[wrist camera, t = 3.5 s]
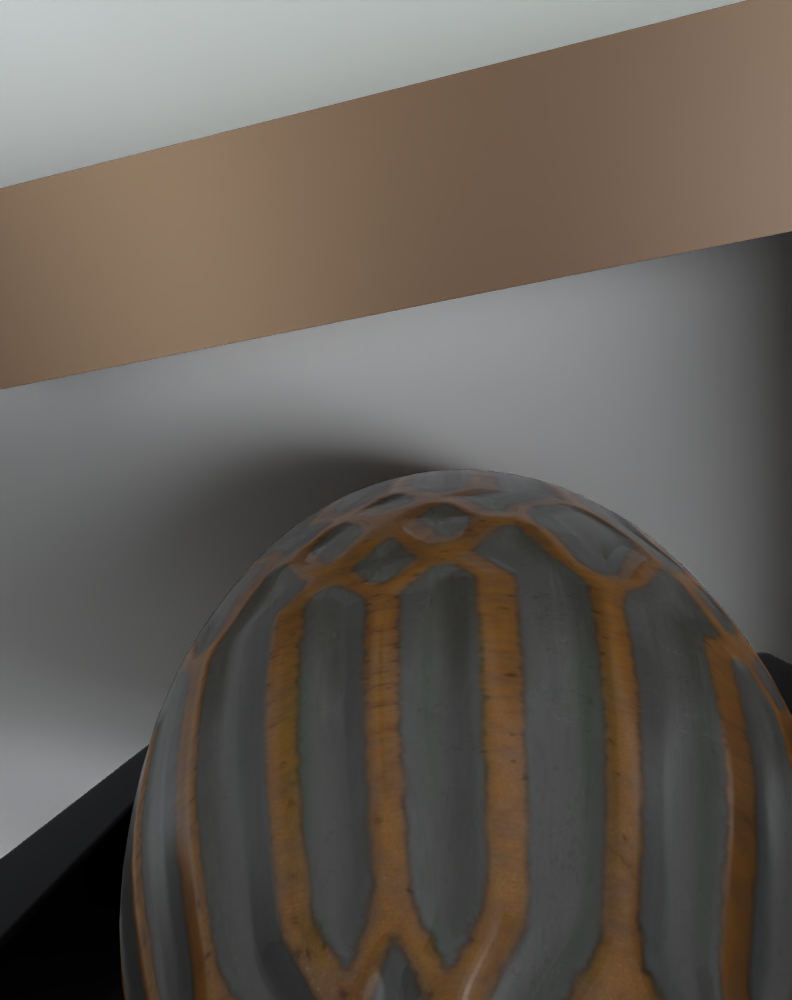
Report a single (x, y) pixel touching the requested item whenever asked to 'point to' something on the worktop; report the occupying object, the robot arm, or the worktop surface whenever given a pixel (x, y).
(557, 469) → the worktop surface
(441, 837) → the vase
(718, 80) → the holder
